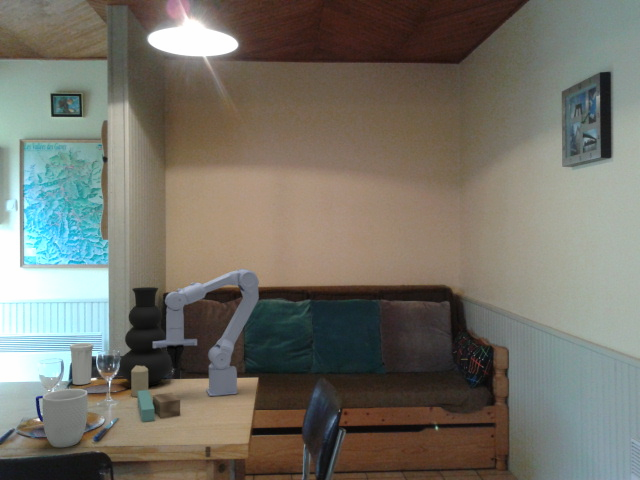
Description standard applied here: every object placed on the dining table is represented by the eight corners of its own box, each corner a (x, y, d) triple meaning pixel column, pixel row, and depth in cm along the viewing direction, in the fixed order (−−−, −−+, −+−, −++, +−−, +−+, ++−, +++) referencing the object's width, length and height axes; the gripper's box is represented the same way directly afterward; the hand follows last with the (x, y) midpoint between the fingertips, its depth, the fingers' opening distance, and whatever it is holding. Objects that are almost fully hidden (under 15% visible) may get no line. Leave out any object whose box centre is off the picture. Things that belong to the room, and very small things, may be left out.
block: (171, 408, 187) (171, 392, 187) (180, 416, 180) (180, 399, 180) (152, 411, 184) (152, 395, 184) (160, 419, 177) (160, 402, 177)
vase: (178, 377, 225) (178, 286, 225) (160, 390, 207) (160, 291, 206) (132, 376, 227) (131, 285, 227) (110, 389, 209) (110, 290, 208)
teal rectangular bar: (148, 400, 195) (148, 389, 195) (154, 420, 175) (154, 408, 175) (137, 401, 194) (137, 390, 194) (142, 421, 173) (142, 410, 173)
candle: (150, 392, 204) (150, 364, 204) (144, 397, 199) (144, 367, 199) (135, 392, 205) (135, 363, 205) (128, 396, 199) (128, 367, 199)
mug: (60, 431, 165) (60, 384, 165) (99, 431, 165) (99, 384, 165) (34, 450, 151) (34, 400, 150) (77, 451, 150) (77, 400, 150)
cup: (65, 385, 213) (65, 346, 213) (78, 380, 221) (77, 342, 221) (85, 386, 212) (85, 347, 212) (98, 381, 220) (97, 343, 220)
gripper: (194, 324, 205) (195, 363, 205) (151, 327, 200) (151, 366, 200) (198, 327, 199) (198, 368, 199) (153, 330, 193) (153, 371, 194)
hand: (175, 367), depth 199 cm, fingers closed
